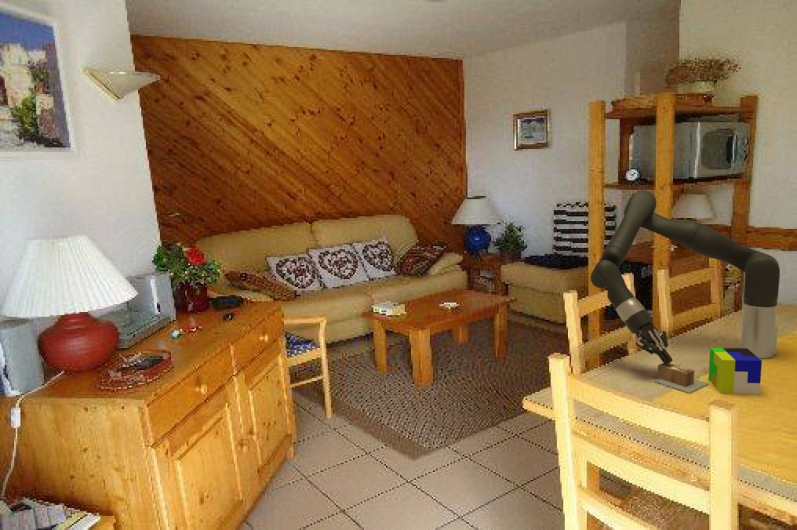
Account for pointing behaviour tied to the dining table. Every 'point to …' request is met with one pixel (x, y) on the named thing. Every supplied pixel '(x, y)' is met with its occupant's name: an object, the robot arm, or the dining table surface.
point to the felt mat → (688, 389)
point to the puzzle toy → (735, 370)
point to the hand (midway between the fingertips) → (669, 362)
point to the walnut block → (676, 374)
